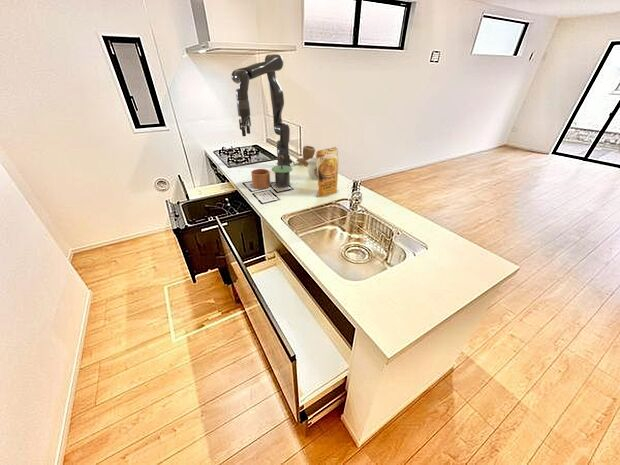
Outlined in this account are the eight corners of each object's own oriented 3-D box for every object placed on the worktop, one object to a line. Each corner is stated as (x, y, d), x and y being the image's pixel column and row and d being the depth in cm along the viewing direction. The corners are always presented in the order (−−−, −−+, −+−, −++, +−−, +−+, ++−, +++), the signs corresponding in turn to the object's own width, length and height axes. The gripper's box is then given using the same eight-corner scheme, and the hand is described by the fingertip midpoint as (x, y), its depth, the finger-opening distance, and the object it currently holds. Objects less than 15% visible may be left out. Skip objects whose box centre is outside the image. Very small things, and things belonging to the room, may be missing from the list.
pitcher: (330, 177, 189) (331, 159, 182) (310, 182, 180) (310, 163, 173) (321, 173, 197) (322, 155, 189) (301, 177, 188) (301, 159, 181)
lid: (288, 166, 178) (288, 151, 173) (295, 172, 168) (295, 157, 162) (269, 168, 174) (268, 153, 168) (274, 175, 163) (274, 159, 158)
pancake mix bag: (311, 194, 162) (312, 150, 147) (333, 188, 172) (337, 145, 157) (318, 198, 158) (319, 152, 143) (340, 191, 168) (344, 148, 153)
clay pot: (267, 181, 181) (266, 168, 176) (272, 187, 171) (271, 173, 166) (251, 183, 177) (249, 169, 172) (254, 189, 167) (253, 175, 162)
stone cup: (317, 165, 212) (317, 147, 204) (304, 167, 207) (304, 149, 199) (308, 160, 223) (308, 143, 215) (296, 162, 218) (295, 144, 210)
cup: (287, 181, 182) (286, 167, 176) (291, 186, 174) (291, 171, 168) (273, 182, 178) (273, 168, 173) (277, 188, 171) (277, 173, 165)
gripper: (245, 109, 153) (248, 137, 162) (253, 106, 165) (255, 133, 174) (233, 108, 154) (237, 136, 163) (241, 106, 166) (244, 132, 175)
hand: (246, 134), depth 168 cm, fingers open, 8 cm apart
